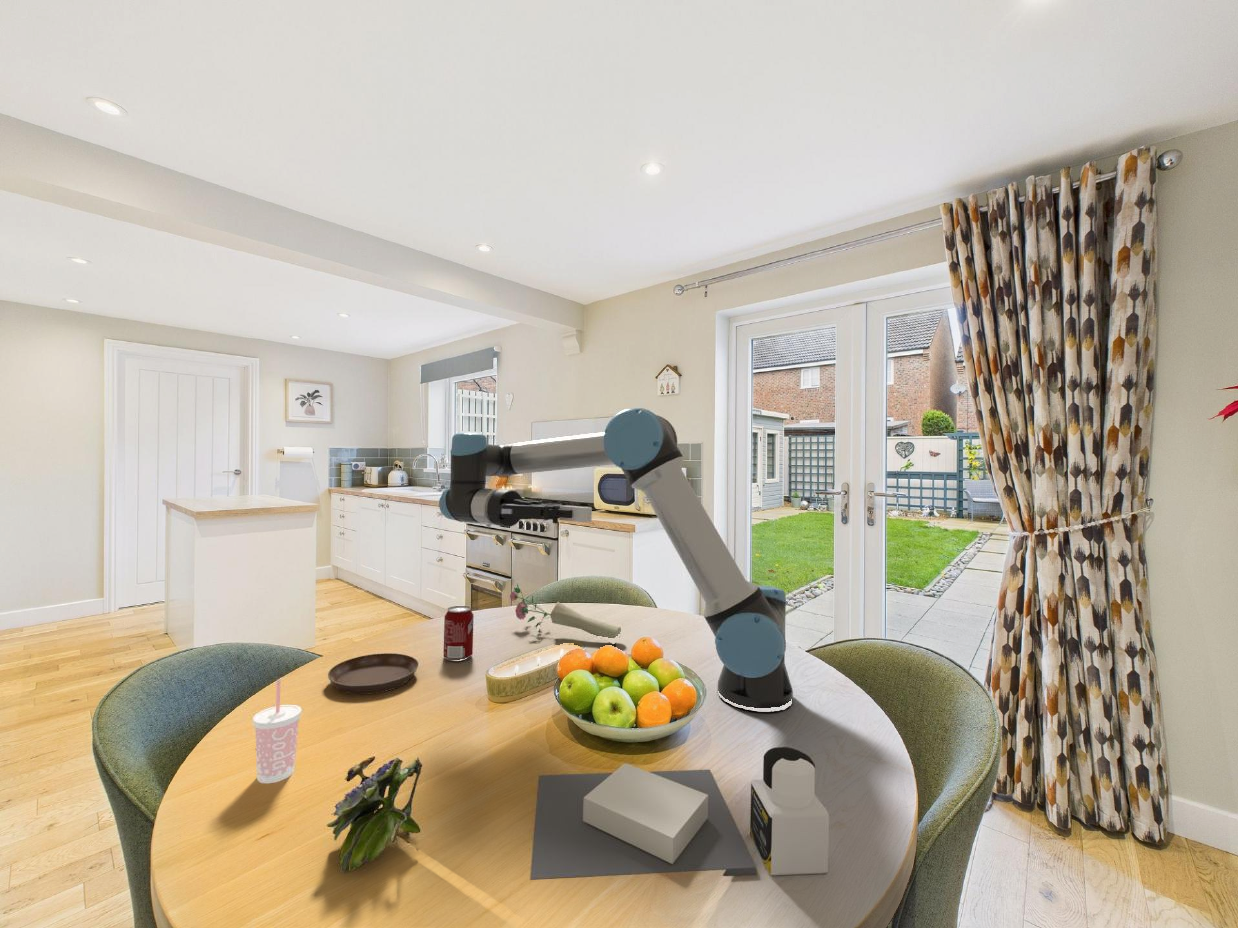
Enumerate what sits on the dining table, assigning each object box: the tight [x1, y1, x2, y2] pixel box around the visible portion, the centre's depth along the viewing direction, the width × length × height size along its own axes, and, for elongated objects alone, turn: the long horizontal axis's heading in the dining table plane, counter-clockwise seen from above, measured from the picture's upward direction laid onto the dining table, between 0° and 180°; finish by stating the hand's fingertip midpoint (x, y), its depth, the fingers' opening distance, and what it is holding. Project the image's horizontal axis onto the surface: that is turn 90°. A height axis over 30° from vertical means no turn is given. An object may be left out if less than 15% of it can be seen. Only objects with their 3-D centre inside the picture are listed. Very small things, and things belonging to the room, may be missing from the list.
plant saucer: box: [327, 652, 420, 695], centre depth 114 cm, size 18×18×3 cm
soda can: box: [443, 604, 475, 661], centre depth 128 cm, size 7×7×12 cm
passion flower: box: [326, 756, 423, 874], centre depth 66 cm, size 11×11×12 cm
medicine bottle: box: [749, 746, 830, 876], centre depth 65 cm, size 7×7×12 cm
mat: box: [529, 769, 758, 881], centre depth 70 cm, size 26×20×1 cm
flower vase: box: [509, 582, 622, 638], centre depth 147 cm, size 12×12×35 cm
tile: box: [583, 762, 708, 864], centre depth 69 cm, size 3×10×13 cm
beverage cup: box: [252, 678, 303, 784], centre depth 79 cm, size 6×6×14 cm
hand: (589, 514), depth 98 cm, fingers closed
